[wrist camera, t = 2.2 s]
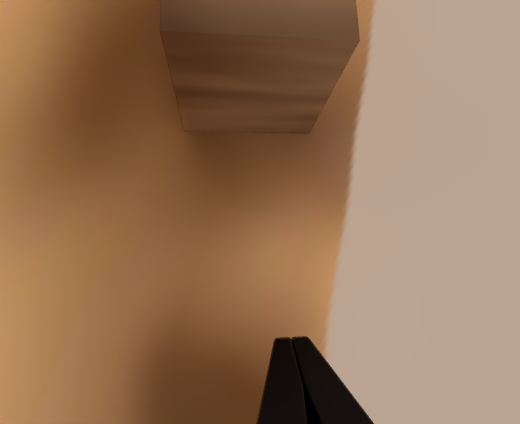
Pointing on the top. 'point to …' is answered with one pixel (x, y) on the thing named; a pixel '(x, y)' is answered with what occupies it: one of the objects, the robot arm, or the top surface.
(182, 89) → the walnut block
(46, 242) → the top surface
